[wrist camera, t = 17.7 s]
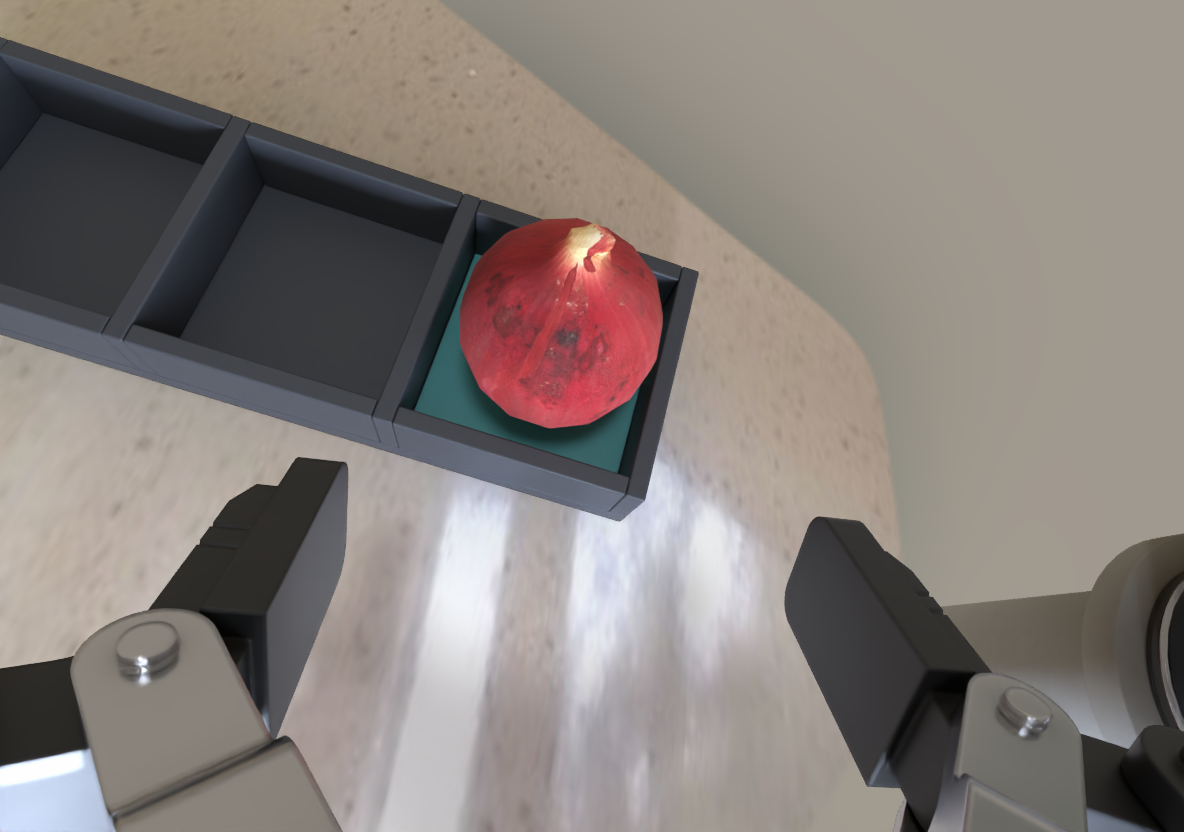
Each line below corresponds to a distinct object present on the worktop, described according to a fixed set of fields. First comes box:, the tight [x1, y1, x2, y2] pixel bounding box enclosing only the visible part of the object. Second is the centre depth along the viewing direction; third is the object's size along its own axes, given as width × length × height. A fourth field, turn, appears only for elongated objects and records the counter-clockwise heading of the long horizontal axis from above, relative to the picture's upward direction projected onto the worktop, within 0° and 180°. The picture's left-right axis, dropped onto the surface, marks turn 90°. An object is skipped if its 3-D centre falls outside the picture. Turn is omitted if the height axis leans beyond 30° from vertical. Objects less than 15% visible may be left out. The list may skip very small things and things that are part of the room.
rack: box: [0, 37, 699, 521], centre depth 22 cm, size 23×8×3 cm, turn 75°
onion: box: [460, 218, 663, 429], centre depth 19 cm, size 6×6×8 cm
